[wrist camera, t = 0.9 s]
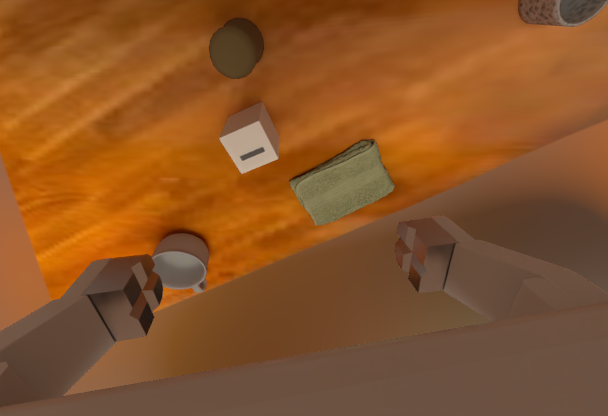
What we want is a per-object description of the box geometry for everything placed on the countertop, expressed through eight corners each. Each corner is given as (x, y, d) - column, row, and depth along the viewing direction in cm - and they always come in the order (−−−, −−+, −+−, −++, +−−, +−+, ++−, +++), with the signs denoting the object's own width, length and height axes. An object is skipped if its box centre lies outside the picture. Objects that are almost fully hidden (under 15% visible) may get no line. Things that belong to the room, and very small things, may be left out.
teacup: (151, 230, 57) (135, 259, 50) (202, 221, 56) (192, 249, 50) (180, 273, 65) (170, 302, 58) (225, 265, 64) (219, 294, 58)
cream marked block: (262, 101, 43) (258, 121, 36) (278, 134, 46) (278, 159, 39) (227, 116, 44) (217, 139, 37) (246, 148, 47) (240, 174, 40)
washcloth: (285, 179, 52) (286, 188, 50) (371, 132, 48) (376, 139, 45) (317, 223, 59) (319, 233, 57) (394, 186, 55) (400, 195, 52)
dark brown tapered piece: (213, 53, 39) (194, 68, 30) (229, 7, 36) (212, 8, 27) (253, 76, 41) (246, 95, 32) (271, 34, 38) (269, 43, 29)
